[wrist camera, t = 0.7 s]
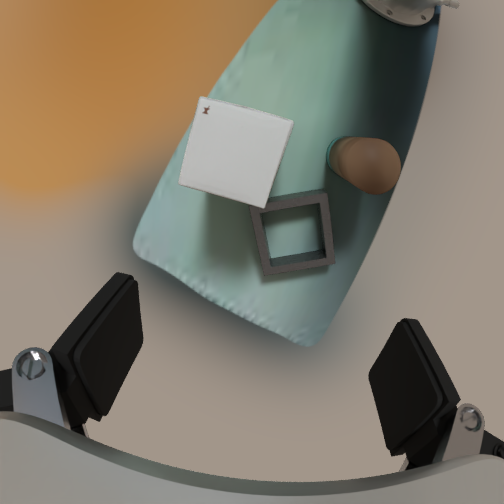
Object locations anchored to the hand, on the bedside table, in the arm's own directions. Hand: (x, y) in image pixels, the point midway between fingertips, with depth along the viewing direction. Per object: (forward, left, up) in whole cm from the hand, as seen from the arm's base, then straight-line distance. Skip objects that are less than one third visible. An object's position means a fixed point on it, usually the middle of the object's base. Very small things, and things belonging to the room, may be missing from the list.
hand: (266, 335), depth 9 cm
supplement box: (+2, -6, -26) cm, 27 cm away
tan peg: (-10, -2, -26) cm, 28 cm away
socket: (-2, +6, -26) cm, 26 cm away
